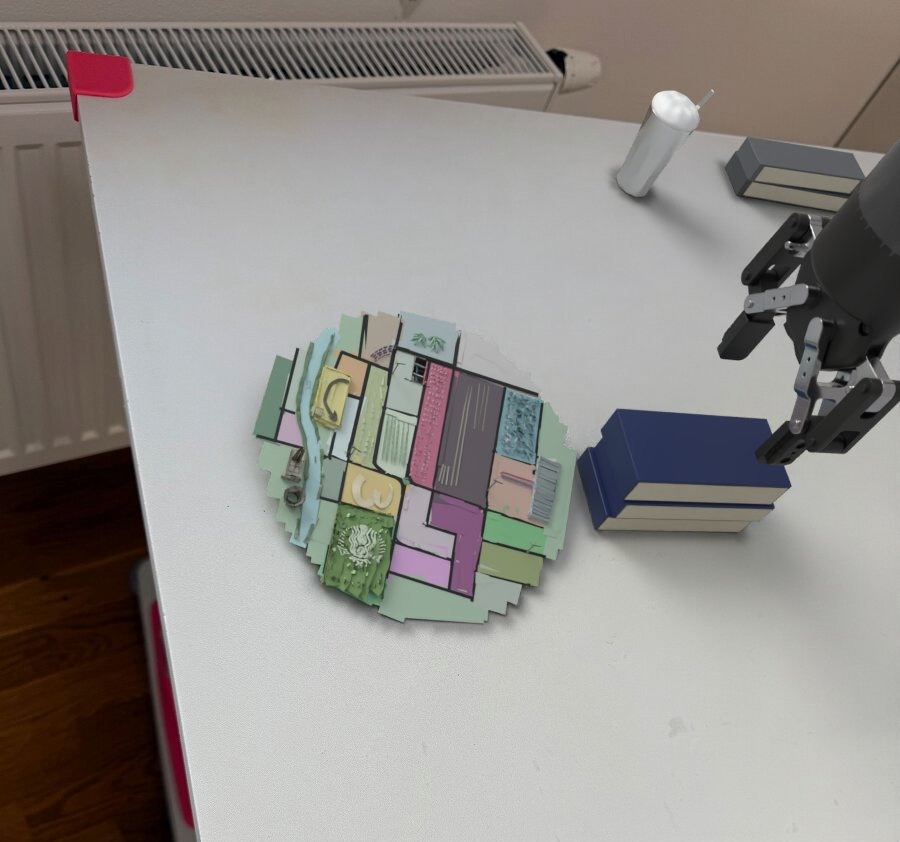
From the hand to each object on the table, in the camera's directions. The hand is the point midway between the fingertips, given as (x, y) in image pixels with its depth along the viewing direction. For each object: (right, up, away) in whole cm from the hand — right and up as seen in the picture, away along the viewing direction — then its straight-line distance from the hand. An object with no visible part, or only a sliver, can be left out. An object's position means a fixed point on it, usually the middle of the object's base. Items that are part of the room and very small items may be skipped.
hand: (747, 406), depth 65 cm
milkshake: (-2, +26, +27) cm, 38 cm away
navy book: (-2, -3, +6) cm, 8 cm away
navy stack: (-4, -5, +10) cm, 12 cm away
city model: (-23, -5, +3) cm, 23 cm away
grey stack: (+15, +29, +35) cm, 48 cm away
